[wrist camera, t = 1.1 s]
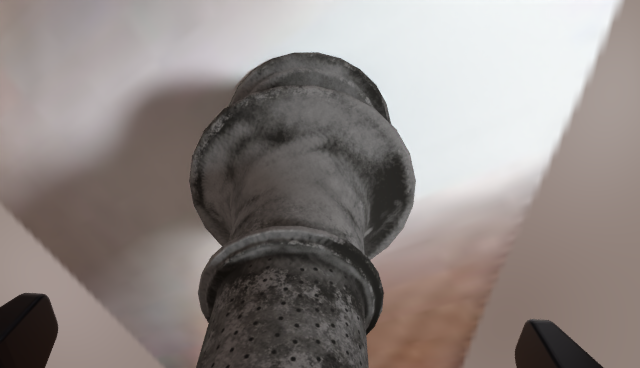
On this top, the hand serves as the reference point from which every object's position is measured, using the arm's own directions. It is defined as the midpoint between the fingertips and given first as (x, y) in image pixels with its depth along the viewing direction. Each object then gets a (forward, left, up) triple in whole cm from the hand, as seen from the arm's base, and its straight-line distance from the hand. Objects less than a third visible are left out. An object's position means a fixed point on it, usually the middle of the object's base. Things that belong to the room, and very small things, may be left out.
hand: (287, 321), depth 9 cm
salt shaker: (0, 0, -8) cm, 8 cm away
